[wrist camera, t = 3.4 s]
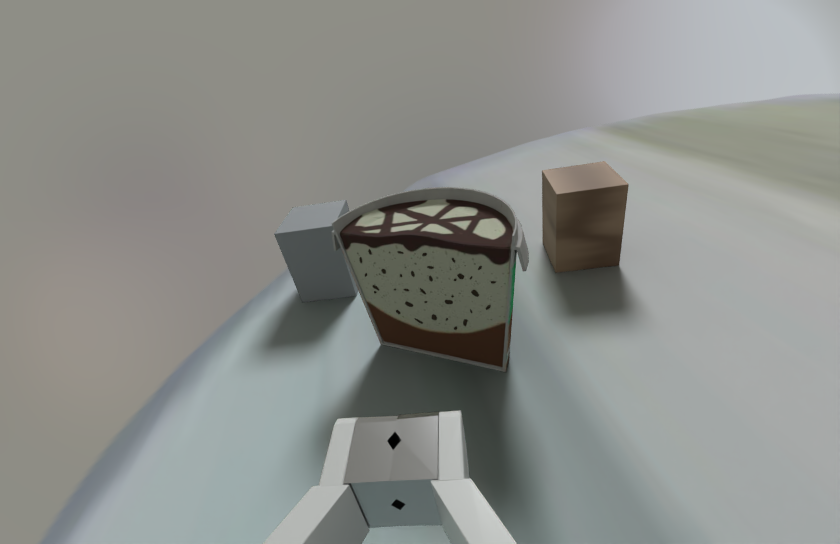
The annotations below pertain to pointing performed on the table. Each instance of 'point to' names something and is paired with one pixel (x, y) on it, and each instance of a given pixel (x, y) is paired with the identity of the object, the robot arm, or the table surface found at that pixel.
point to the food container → (437, 271)
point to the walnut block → (583, 216)
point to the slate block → (315, 252)
